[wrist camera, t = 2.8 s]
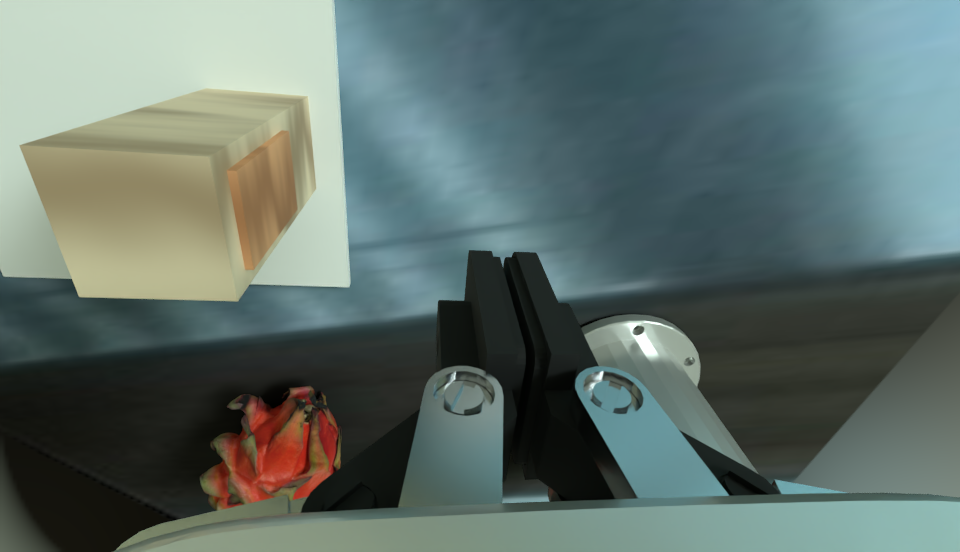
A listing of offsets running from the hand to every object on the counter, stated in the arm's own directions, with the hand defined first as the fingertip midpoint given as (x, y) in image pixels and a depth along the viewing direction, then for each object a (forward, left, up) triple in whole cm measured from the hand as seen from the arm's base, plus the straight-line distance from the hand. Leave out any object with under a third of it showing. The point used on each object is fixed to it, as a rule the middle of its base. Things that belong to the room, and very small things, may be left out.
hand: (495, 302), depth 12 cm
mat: (0, +17, -17) cm, 24 cm away
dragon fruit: (-21, +12, -17) cm, 30 cm away
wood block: (0, +11, -16) cm, 19 cm away
